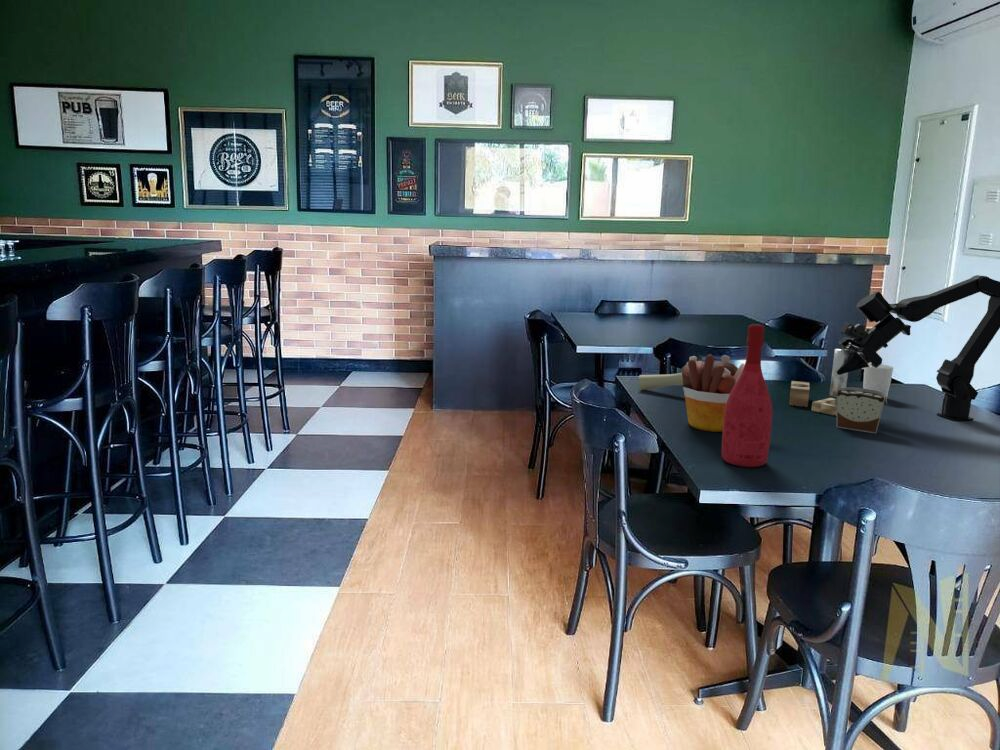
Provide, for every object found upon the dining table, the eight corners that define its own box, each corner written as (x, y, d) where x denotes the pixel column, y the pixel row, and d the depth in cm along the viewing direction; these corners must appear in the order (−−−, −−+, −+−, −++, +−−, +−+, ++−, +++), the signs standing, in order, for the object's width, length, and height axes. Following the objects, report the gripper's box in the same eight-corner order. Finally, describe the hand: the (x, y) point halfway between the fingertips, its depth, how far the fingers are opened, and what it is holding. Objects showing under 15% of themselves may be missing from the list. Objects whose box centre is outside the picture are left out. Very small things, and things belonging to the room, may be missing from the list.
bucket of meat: (689, 414, 200) (695, 341, 196) (752, 423, 191) (759, 348, 188) (666, 430, 183) (672, 351, 179) (734, 441, 174) (742, 359, 171)
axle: (848, 396, 205) (853, 350, 203) (837, 397, 204) (843, 351, 201) (836, 393, 209) (841, 348, 206) (826, 394, 207) (831, 348, 205)
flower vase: (649, 412, 232) (762, 404, 212) (633, 407, 222) (750, 399, 203) (648, 375, 234) (760, 364, 215) (632, 369, 224) (748, 357, 205)
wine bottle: (757, 455, 164) (770, 321, 158) (775, 469, 154) (789, 327, 148) (714, 454, 164) (725, 320, 158) (729, 468, 154) (742, 326, 148)
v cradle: (833, 406, 214) (834, 398, 213) (850, 418, 200) (851, 409, 200) (804, 404, 214) (805, 396, 214) (819, 416, 201) (820, 407, 200)
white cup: (882, 395, 231) (886, 364, 229) (893, 401, 223) (897, 368, 221) (856, 394, 231) (860, 363, 229) (866, 399, 224) (870, 367, 222)
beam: (789, 396, 225) (791, 380, 224) (807, 398, 223) (809, 382, 222) (789, 405, 214) (790, 387, 213) (807, 407, 212) (809, 389, 211)
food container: (886, 429, 189) (891, 391, 187) (882, 434, 184) (888, 395, 182) (834, 421, 196) (839, 385, 194) (830, 426, 191) (834, 388, 189)
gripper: (849, 309, 210) (805, 346, 214) (874, 316, 192) (826, 356, 195) (875, 337, 211) (831, 373, 214) (902, 347, 193) (854, 386, 196)
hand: (834, 372), depth 205 cm, fingers closed on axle, 4 cm apart
